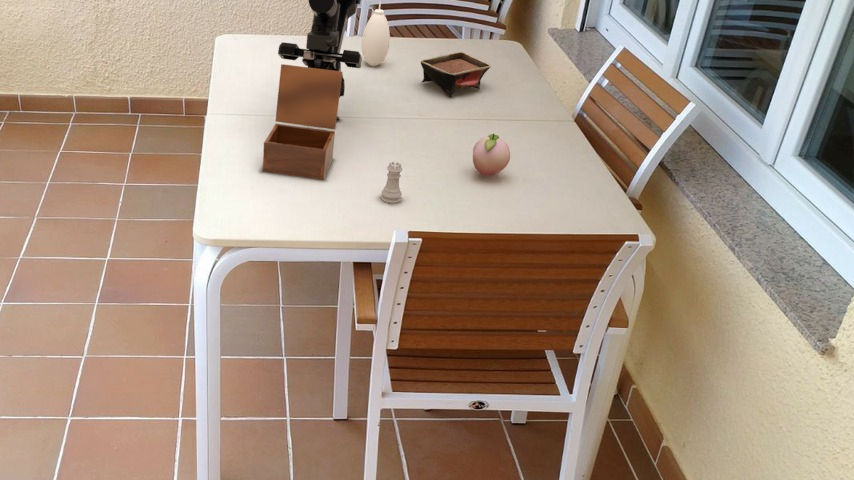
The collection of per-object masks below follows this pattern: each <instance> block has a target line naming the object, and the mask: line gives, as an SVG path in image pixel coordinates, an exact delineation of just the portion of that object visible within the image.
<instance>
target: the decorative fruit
mask: <svg viewBox="0 0 854 480" xmlns="http://www.w3.org/2000/svg"><path fill="white" fill-rule="evenodd" d="M510 160H511V149H510V147H509V145H508V143H507V142H506V141H505V140H503V139H502V138H500V136H499V135H498V134H495V133H491V134H488V135H486V136H483V137H481V138H479V139H478V140H477V141H476V142H475V143H474V145H473V148H472V163H473V166H474V168H475V169H476V171H477V172H478V173H479V174H481V175H482V176H483V177H490V176H493V175H497V174H498V173H500V172H502V171H503V170H504V169H506V168H507V167H508V164H509V163H510Z"/></svg>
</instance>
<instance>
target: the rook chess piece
mask: <svg viewBox="0 0 854 480" xmlns="http://www.w3.org/2000/svg"><path fill="white" fill-rule="evenodd" d="M386 170H387V171H388V173H386V176H387V179H386V184H385V186H384V187H383V189H382V190H381V195H380V199H381V200H382V202H384V203H387V204H392V205H393V204H398V203H400V202H401V200H402V194H403V193H402V191H401V188H400V178H401V172H402V171H403V167H402V163H400V162H398V161H396V162H395V161H391V162H389V164H388V165H387V167H386Z"/></svg>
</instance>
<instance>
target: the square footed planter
mask: <svg viewBox="0 0 854 480" xmlns="http://www.w3.org/2000/svg"><path fill="white" fill-rule="evenodd" d="M420 65H421V67H422V69H423V79H422V81H421V83H426V82H427V83H428V82H433V83H434V84H435V85H436V86H437V87H438V88H439V89H440V90H442V92H444V93H445V94H446V95H447V96H448V97H449V98H452V97H453V96H454V95H455V94H456V93H457V92H458V91H459V90H461V89H462V88H464V87H467V88H473V89H476V90H479V91H480V89H481V88H480V87H481V80H482V78H483V77H484V76H485V74H486V73H487V72H488V71H489V69H491V66H492V65H491V64H489V63H488V62H486V61H484V60H482V59H480V58H478V57H475V56H474V55H471V54H469V53H466V52H463V51H456V52H453V53H448V54H443V55H440V56H433V57H430V58H427V59H425V58H424V59H421V61H420Z"/></svg>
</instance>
